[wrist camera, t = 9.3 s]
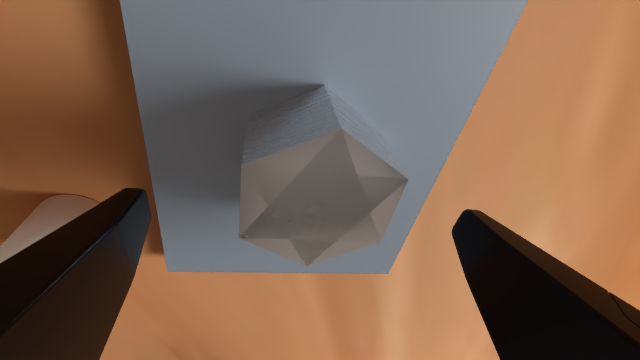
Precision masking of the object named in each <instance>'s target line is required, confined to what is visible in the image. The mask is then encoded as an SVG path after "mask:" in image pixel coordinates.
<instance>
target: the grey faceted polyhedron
mask: <svg viewBox="0 0 640 360" xmlns="http://www.w3.org/2000/svg"><path fill="white" fill-rule="evenodd" d="M408 180H409V179H408V177H407V176H406V174H405V172H404V171H403V169H402V167H401V166H400V164H399V162H398V161H397V159H396V157H395V156H394V154H393V152H392V151H391V149H390V147H389V146H388V144H387V142H386V141H385V139H384V137H383V136H382V134H381V132H380V131H379V129H378V128H377V127H375V126H374V125H373V124H372V123H371V122H369V121H368V120H367V119H366V118H365V117H363V116H362V115H361V114H360V113H358V112H357V111H356V110H355V109H354V108H352V107H351V106H350V105H349V104H347V103H346V102H345V101H344V100H343V99H341V98H340V97H339V96H338V95H337V94H335V93H334V92H333V91H332V90H330V89H329V88H328V87H327V86H326V85H321V86H319V87H316V88H314V89H311V90H309V91H306V92H303V93H301V94H298V95H296V96H293V97H291V98H288V99H286V100H283V101H281V102H278V103H276V104H273V105H270V106H268V107H265V108H263V109H260V110H258V111H255V112H253V113H250V114H249V119H248V125H247V132H246V138H245V145H244V151H243V158H242V164H241V188H240V214H239V238H240V239H242V240H244V241H247V242H249V243H252V244H254V245H256V246H259V247H261V248H263V249H266V250H268V251H271V252H273V253H275V254H278V255H280V256H282V257H285V258H287V259H289V260H292V261H294V262H297V263H299V264H301V265H304V266H306V267H307V266H310V265H313V264H317V263H320V262H323V261H326V260H329V259H332V258H335V257H338V256H341V255H344V254H347V253H350V252H353V251H356V250H360V249H363V248H366V247H369V246H372V245H375V244H378V243H381V241H382V238H383V236H384V234H385V232H386V229H387V227H388V225H389V223H390V220H391V218H392V216H393V214H394V211H395V209H396V207H397V204H398V202H399V200H400V198H401V195H402V193H403V191H404V189H405V186H406V184H407V182H408Z"/></svg>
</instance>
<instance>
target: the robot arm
mask: <svg viewBox="0 0 640 360" xmlns="http://www.w3.org/2000/svg"><path fill="white" fill-rule="evenodd" d="M150 219H151V213H150V208H149V202H148V197H147V193H146V191H145V190H144V189H140V188H125V189H123V190H121V191H120V192H118V193H116V194H115V195H113V196H111V197H110V198H108V199H106V200H105V201H103V202H101V203H100V204H98V205H96V206H95V207H93V208H91V209H90V210H88V211H86V212H85V213H83V214H81V215H80V216H78V217H76V218H75V219H73V220H71V221H70V222H68V223H66V224H65V225H63V226H61V227H60V228H58V229H56V230H55V231H53V232H51V233H50V234H48V235H46V236H45V237H43V238H41V239H40V240H38V241H36V242H35V243H33V244H31V245H30V246H28V247H26V248H25V249H23V250H21V251H20V252H18V253H16V254H15V255H13V256H11V257H10V258H8V259H6V260H5V261H3V262H1V263H0V360H99V359H100V357H101V354H102V352H103V350H104V347H105V345H106V342H107V340H108V338H109V335H110V333H111V331H112V328H113V326H114V324H115V321H116V319H117V317H118V314H119V312H120V310H121V307H122V305H123V303H124V300H125V298H126V296H127V293H128V291H129V288H130V286H131V284H132V281H133V278H134V276H135V272H136V269H137V266H138V262H139V259H140V255H141V252H142V248H143V245H144V241H145V238H146V234H147V231H148V227H149V224H150ZM452 236H453V239H454V243H455V246H456V249H457V252H458V255H459V258H460V262H461V265H462V268H463V271H464V274H465V277H466V280H467V282H468V285H469V287H470V290H471V292H472V295H473V297H474V299H475V302H476V304H477V306H478V309H479V311H480V313H481V316H482V318H483V320H484V323H485V325H486V327H487V330H488V332H489V335H490V337H491V339H492V342H493V344H494V346H495V349H496V351H497V353H498V356H499V358H500V360H640V311H639V310H638V309H636V308H635V307H633V306H631V305H630V304H628V303H626V302H625V301H623V300H622V299H620V298H618V297H617V296H615V295H614V294H612V293H610V292H608V291H607V290H606V289H604V288H602V287H601V286H599V285H598V284H596V283H594V282H593V281H591V280H590V279H588V278H586V277H585V276H583V275H582V274H580V273H578V272H577V271H575V270H574V269H572V268H570V267H569V266H567V265H566V264H564V263H562V262H561V261H559V260H558V259H556V258H554V257H553V256H551V255H550V254H548V253H546V252H545V251H543V250H542V249H540V248H538V247H537V246H535V245H534V244H532V243H531V242H529V241H527V240H526V239H524V238H523V237H521V236H519V235H518V234H516V233H515V232H513V231H511V230H510V229H508V228H507V227H505V226H503V225H502V224H500V223H499V222H497V221H495V220H494V219H492V218H491V217H489V216H487V215H486V214H484V213H483V212H481V211H479V210H470V209H467V210H465V211H463V212H462V214H461V215H460V217H459V218H458V220H457V222H456V223H455V225H454V226H453V229H452Z"/></svg>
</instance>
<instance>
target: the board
mask: <svg viewBox="0 0 640 360" xmlns="http://www.w3.org/2000/svg"><path fill="white" fill-rule="evenodd" d="M527 2H528V0H120V5H121V11H122V16H123V22H124V28H125V33H126V39H127V45H128V50H129V56H130V62H131V68H132V73H133V79H134V85H135V90H136V96H137V102H138V107H139V113H140V119H141V124H142V130H143V136H144V141H145V147H146V153H147V158H148V164H149V170H150V175H151V181H152V187H153V192H154V198H155V204H156V209H157V215H158V221H159V226H160V232H161V238H162V243H163V249H164V255H165V260H166V266H167V271H172V272H267V273H362V274H388V273H389V271H390V269H391V267H392V265H393V263H394V261H395V259H396V257H397V255H398V253H399V251H400V249H401V247H402V245H403V244H404V242H405V240H406V238H407V236H408V234H409V232H410V230H411V228H412V226H413V224H414V222H415V220H416V218H417V216H418V214H419V212H420V210H421V208H422V206H423V205H424V203H425V201H426V199H427V197H428V195H429V193H430V191H431V189H432V187H433V185H434V183H435V181H436V179H437V177H438V175H439V173H440V171H441V169H442V167H443V165H444V164H445V162H446V160H447V158H448V156H449V154H450V152H451V150H452V148H453V146H454V144H455V142H456V140H457V138H458V136H459V134H460V132H461V130H462V128H463V126H464V125H465V123H466V121H467V119H468V117H469V115H470V113H471V111H472V109H473V107H474V105H475V103H476V101H477V99H478V97H479V95H480V93H481V91H482V89H483V87H484V85H485V84H486V82H487V80H488V78H489V76H490V74H491V72H492V70H493V68H494V66H495V64H496V62H497V60H498V58H499V56H500V54H501V52H502V50H503V48H504V46H505V44H506V43H507V41H508V39H509V37H510V35H511V33H512V31H513V29H514V27H515V25H516V23H517V21H518V19H519V17H520V15H521V13H522V11H523V9H524V7H525V5H526V4H527ZM321 85H326V86H327V87H328V88H329V89H330V90H332V91H333V92H334V93H335V94H337V95H338V96H339V97H340V98H341V99H343V100H344V101H345V102H346V103H347V104H349V105H350V106H351V107H352V108H354V109H355V110H356V111H357V112H358V113H360V114H361V115H362V116H363V117H365V118H366V119H367V120H368V121H369V122H371V123H372V124H373V125H374V126H375V127H377V128H378V129H379V131H380V132H381V134H382V136H383V137H384V139H385V141H386V142H387V144H388V146H389V147H390V149H391V151H392V152H393V154H394V156H395V157H396V159H397V161H398V162H399V164H400V166H401V167H402V169H403V171H404V172H405V174H406V176H407V177H408V179H409V180H408V182H407V184H406V186H405V189H404V191H403V193H402V195H401V198H400V200H399V202H398V204H397V207H396V209H395V211H394V214H393V216H392V218H391V220H390V223H389V225H388V227H387V229H386V232H385V234H384V236H383V238H382V241H381V243H378V244H375V245H372V246H369V247H366V248H363V249H360V250H356V251H353V252H350V253H347V254H344V255H341V256H338V257H335V258H332V259H329V260H326V261H323V262H320V263H317V264H313V265H310V266H307V267H306V266H304V265H301V264H299V263H297V262H294V261H292V260H289V259H287V258H285V257H282V256H280V255H278V254H275V253H273V252H271V251H268V250H266V249H263V248H261V247H259V246H256V245H254V244H252V243H249V242H247V241H244V240H242V239H240V238H239V214H240V188H241V164H242V158H243V151H244V145H245V138H246V132H247V125H248V119H249V114H250V113H253V112H255V111H258V110H260V109H263V108H265V107H268V106H270V105H273V104H276V103H278V102H281V101H283V100H286V99H288V98H291V97H293V96H296V95H298V94H301V93H303V92H306V91H309V90H311V89H314V88H316V87H319V86H321Z"/></svg>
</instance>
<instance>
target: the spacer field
mask: <svg viewBox="0 0 640 360" xmlns="http://www.w3.org/2000/svg"><path fill="white" fill-rule="evenodd" d="M98 204H100V203H99V202H97V201H94V200H92V199H89V198H86V197H82V196H77V195H67V194H63V195H55V196H51V197H49V198H47V199H45V200H43V201H42V202H41V203H40V204H39V205H38V206H37V207H36V208H35V209H34V210H33V212H32V213H31V214H30V215H29V216H28V217H27V218H26V219H25V220H24V221H23V222H22V223H21V224H20V225H19V226H18V228H17V229H16V230H15V231H14V232H13V233H12V234H11V235H10V236H9V237H8V238H7V239H6V240H5V241H4V242H3V244H2V245H1V246H0V263H1V262H3V261H5V260H6V259H8V258H10V257H11V256H13V255H15V254H16V253H18V252H20V251H21V250H23V249H25V248H26V247H28V246H30V245H31V244H33V243H35V242H36V241H38V240H40V239H41V238H43V237H45V236H46V235H48V234H50V233H51V232H53V231H55V230H56V229H58V228H60V227H61V226H63V225H65V224H66V223H68V222H70V221H71V220H73V219H75V218H76V217H78V216H80V215H81V214H83V213H85V212H86V211H88V210H90V209H91V208H93V207H95V206H96V205H98Z"/></svg>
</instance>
